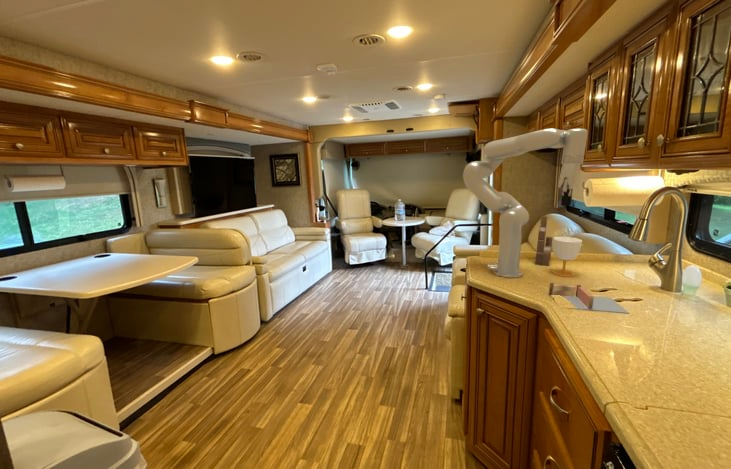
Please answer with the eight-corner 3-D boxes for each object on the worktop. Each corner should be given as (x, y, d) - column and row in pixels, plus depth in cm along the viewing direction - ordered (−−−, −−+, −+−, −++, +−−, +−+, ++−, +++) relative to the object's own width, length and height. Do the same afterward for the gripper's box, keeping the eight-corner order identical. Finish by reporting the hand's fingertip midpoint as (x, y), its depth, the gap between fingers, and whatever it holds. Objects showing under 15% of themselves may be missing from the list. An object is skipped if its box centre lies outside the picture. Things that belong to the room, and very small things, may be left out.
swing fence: (577, 296, 129) (578, 286, 128) (580, 296, 129) (581, 286, 128) (589, 308, 119) (590, 297, 118) (592, 308, 118) (594, 297, 118)
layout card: (559, 307, 121) (559, 306, 121) (548, 293, 134) (548, 292, 134) (628, 313, 116) (629, 312, 116) (610, 298, 129) (610, 297, 129)
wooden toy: (549, 266, 170) (554, 218, 165) (535, 264, 174) (539, 217, 169) (550, 259, 183) (555, 214, 178) (537, 257, 187) (541, 213, 182)
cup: (562, 269, 166) (565, 235, 162) (583, 276, 155) (588, 240, 151) (543, 271, 162) (547, 237, 159) (564, 279, 151) (569, 242, 148)
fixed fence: (549, 294, 132) (550, 283, 131) (548, 293, 134) (549, 282, 133) (580, 297, 130) (581, 286, 129) (578, 295, 131) (580, 284, 130)
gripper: (567, 160, 142) (561, 203, 146) (556, 160, 131) (550, 206, 135) (587, 160, 136) (580, 205, 140) (578, 160, 126) (570, 208, 130)
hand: (565, 205), depth 138 cm, fingers closed
